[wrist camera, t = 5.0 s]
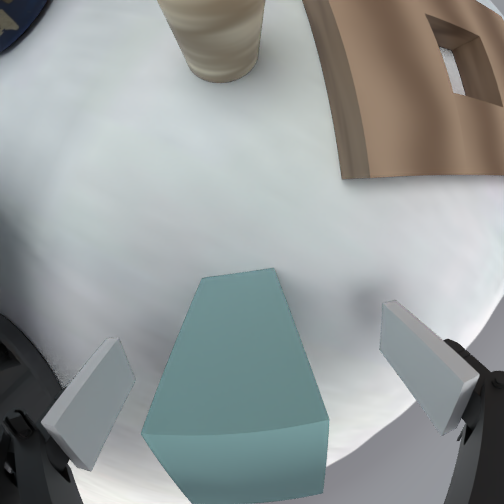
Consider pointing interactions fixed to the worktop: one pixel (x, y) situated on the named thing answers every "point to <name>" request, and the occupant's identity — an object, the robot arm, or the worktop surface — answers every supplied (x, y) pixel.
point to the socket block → (412, 85)
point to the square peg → (239, 399)
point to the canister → (16, 18)
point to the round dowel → (216, 35)
